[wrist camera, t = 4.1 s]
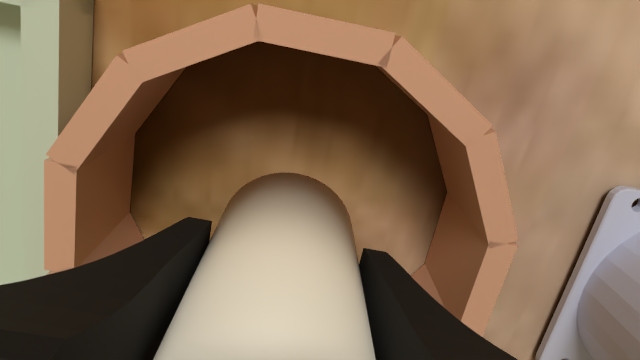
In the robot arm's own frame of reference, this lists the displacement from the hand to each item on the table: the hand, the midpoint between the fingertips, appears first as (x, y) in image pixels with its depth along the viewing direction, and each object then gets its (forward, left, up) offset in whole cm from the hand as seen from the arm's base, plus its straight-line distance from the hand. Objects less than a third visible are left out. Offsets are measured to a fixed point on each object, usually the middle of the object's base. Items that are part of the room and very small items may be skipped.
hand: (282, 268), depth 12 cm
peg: (0, 0, -2) cm, 2 cm away
